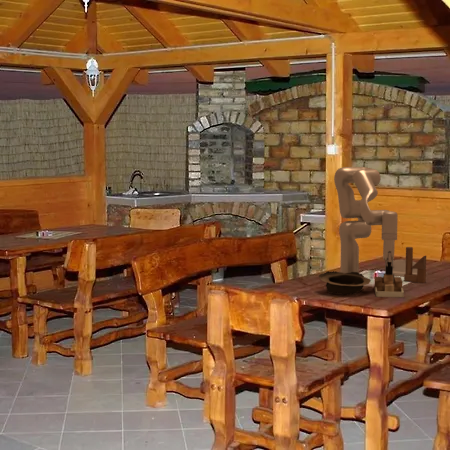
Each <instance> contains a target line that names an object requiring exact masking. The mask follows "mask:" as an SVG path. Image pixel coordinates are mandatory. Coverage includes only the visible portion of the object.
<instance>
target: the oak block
mask: <svg viewBox="0 0 450 450" xmlns="http://www.w3.org/2000/svg"><path fill="white" fill-rule="evenodd" d="M383 277H384V288H385V284H393V275H386V274H385V273H383Z"/></svg>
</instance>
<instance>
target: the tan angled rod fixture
mask: <svg viewBox="0 0 450 450" xmlns="http://www.w3.org/2000/svg"><path fill="white" fill-rule="evenodd" d="M413 251H414V248H413V247H412V246H406V247H405V260H406V270H405V274H404V277H403V281H404V282H408V283H409V282H410V283H419V284H420V283H421V284H424V283H426V282H427V281H426V280H427V279H426V278H427V255H423V256H422V257H421V258H420V259H419V260H418V261H417V262H416V264H415V265H414V266H413V262H414V260H413V257H414V256H413V255H414V252H413ZM412 268H413V269H417V275H416V274H412Z"/></svg>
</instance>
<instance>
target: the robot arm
mask: <svg viewBox="0 0 450 450" xmlns="http://www.w3.org/2000/svg"><path fill="white" fill-rule="evenodd" d="M380 174H381V173H380V172H379V171H378V170H377V169H376V168H372V167H366V166H345V167H344V166H343V167H340V168H338V169H336V171H335V173H334V177H333V180H334V181H333V182H334V185H335V190H336V192H337V197H338V198H337V199H338V207H339V214H340V216H341V218H343V219H357V220H346V221H343V222H342V223H340V225H339V226H338V227H339V228H338V232H339V233H338V234H339V239H340V271H339V272H340V273H349V272H350V273H351V272H358V273H360V272H359V271H360V270H359V269H360V263H359V262H360V258H359V257H360V247H359V244H358V242H357V240H358V239H367V238H369V237H370V236H371V234H372V226H381V241H383V245H382V247H383V248H382V249H383V250H382V259H383V260H384V261H385V259H386V274H388V275H392V269H393V266H392V259H393V261H394V259H395V244H396V243H395V241H398V213H397V212H396V211H394V210H393V211H392V210H391V211H390V210H388V209H371V208H370V206H369V202H371V201H373V200H374V199H376V198H377V196H378V190H377V187H376V186H377V185H379V184H381V183H380V182H381V175H380ZM349 184H355V187H356V189H357V191H358V193H359V195H360V198H361V199H360V200H359V199H357V200H356V199H355V192H354V189H353V188H352V187H351V185H349ZM356 239H357V240H356ZM392 257H393V258H392ZM387 259H388V260H387Z"/></svg>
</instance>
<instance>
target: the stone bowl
mask: <svg viewBox="0 0 450 450" xmlns="http://www.w3.org/2000/svg"><path fill="white" fill-rule="evenodd" d="M318 278H319V279H320V280H321V282H325V288H326V291H327V292H328V293H329V294H335V295H336V294H338V295H341V296H346V295H348V296H350V295H356V294H357V293H359V292H361V291H362V290H363V288H364V286H367V285H370V283H371V279H370V278H367V277H365V276H364V275H363V274H362V273H361V272H359V273H358V272H351V273H350V272H349V273H340V271H335V270H333V271H326V272H323V273H320V274H318Z"/></svg>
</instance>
